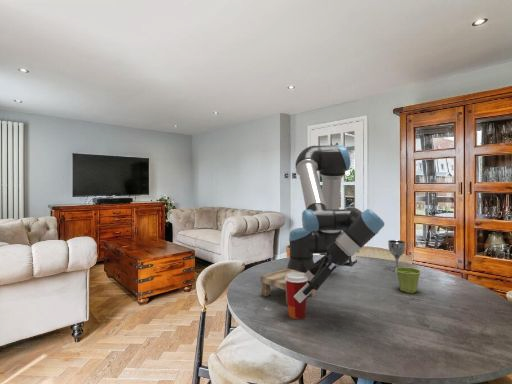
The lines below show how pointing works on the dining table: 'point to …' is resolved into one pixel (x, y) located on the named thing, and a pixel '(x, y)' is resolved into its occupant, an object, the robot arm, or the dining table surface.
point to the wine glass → (396, 250)
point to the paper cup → (294, 285)
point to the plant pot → (408, 279)
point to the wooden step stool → (278, 281)
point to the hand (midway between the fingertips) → (297, 292)
